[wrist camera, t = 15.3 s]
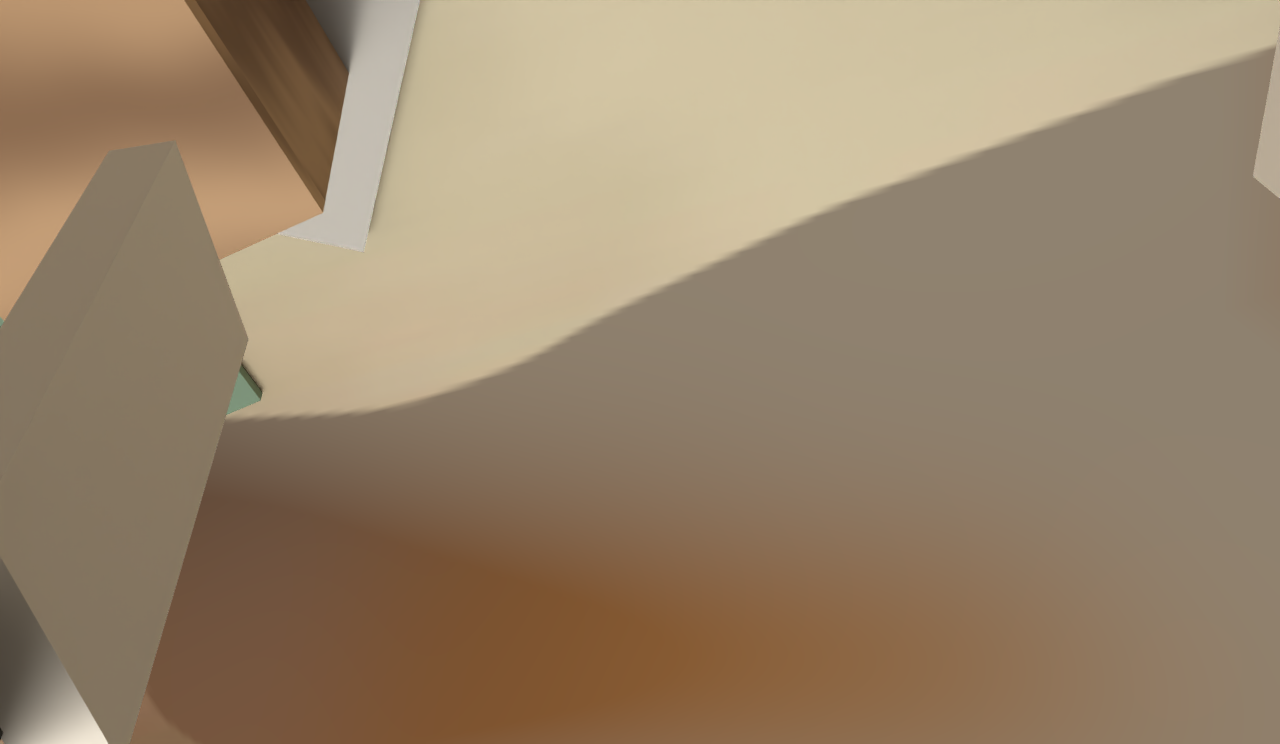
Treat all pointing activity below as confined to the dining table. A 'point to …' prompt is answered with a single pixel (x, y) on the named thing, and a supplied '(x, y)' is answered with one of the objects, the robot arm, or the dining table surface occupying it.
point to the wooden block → (164, 112)
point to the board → (360, 111)
